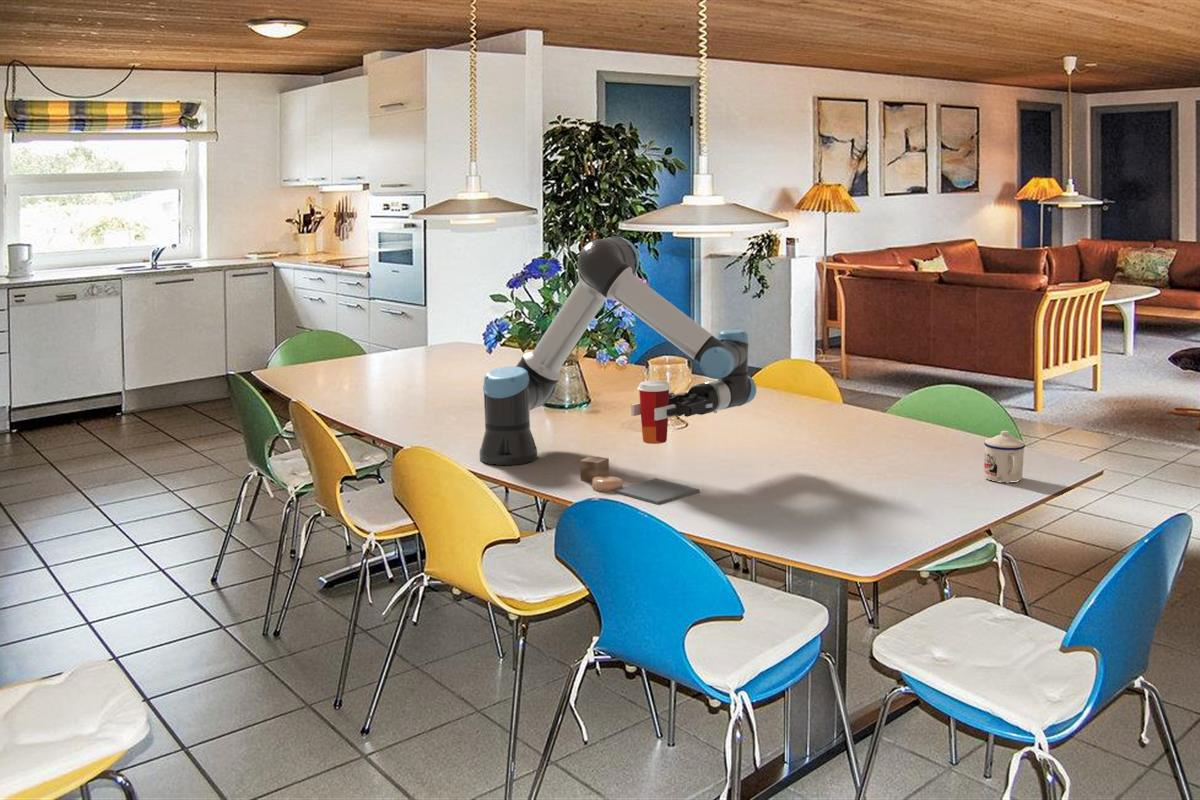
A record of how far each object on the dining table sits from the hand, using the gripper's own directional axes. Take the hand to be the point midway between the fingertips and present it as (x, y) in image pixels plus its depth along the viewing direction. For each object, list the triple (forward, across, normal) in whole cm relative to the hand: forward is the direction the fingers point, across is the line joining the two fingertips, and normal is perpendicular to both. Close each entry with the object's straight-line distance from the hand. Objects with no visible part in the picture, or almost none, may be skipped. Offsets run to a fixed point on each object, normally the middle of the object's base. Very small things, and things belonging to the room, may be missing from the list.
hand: (644, 412), depth 262 cm
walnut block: (+2, +15, -18) cm, 24 cm away
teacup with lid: (-62, -59, -19) cm, 88 cm away
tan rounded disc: (+6, +7, -18) cm, 20 cm away
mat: (+1, -4, -18) cm, 19 cm away
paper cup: (-4, 0, -8) cm, 8 cm away
